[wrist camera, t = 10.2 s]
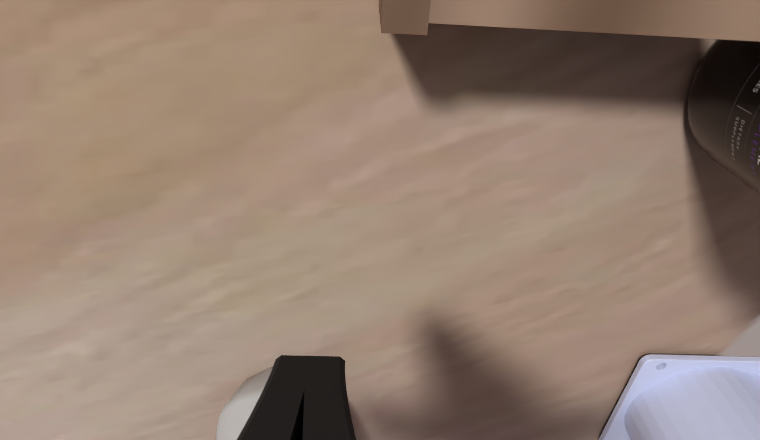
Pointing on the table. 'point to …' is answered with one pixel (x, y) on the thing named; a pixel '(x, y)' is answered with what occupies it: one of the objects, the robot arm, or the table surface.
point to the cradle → (582, 16)
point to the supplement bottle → (729, 108)
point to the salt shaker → (241, 406)
